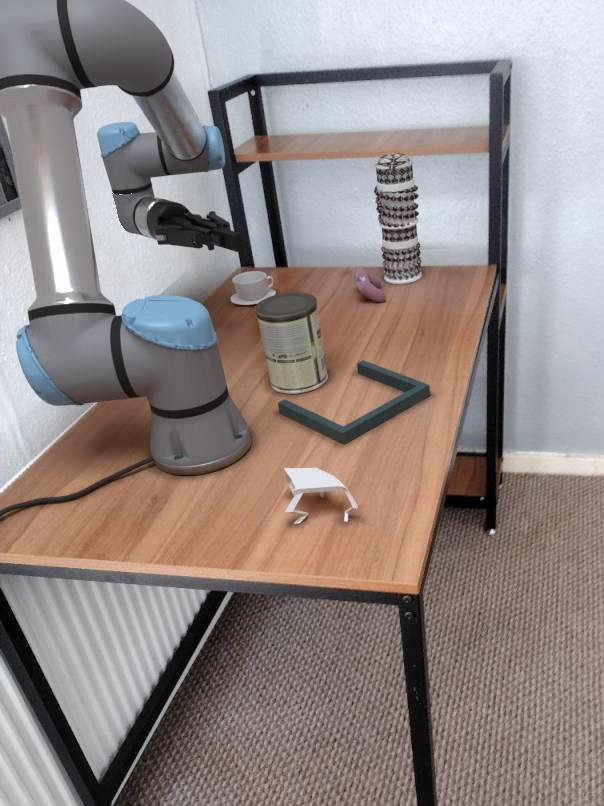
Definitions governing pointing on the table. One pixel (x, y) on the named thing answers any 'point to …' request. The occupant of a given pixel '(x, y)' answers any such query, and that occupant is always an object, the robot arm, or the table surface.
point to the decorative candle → (398, 218)
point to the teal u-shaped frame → (345, 434)
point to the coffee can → (292, 342)
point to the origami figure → (313, 487)
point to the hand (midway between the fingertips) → (239, 242)
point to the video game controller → (368, 285)
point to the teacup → (251, 288)
